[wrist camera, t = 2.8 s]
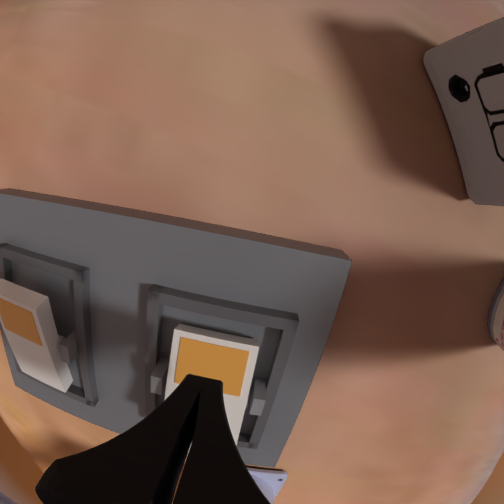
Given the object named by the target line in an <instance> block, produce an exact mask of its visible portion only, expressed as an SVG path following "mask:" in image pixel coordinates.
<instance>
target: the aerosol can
mask: <svg viewBox="0 0 504 504" xmlns="http://www.w3.org/2000/svg"><path fill="white" fill-rule="evenodd" d="M488 330H489V335H490V336H491V338H492V340H493V341H494V342H495V343H497V344H498V346H500V347H501V348H502V349H503V350H504V279H503V281H502V282H501V283H500V285H499V287H498V289H497V291H496V293H495V295H494V298H493V301H492V304H491V307H490V310H489V317H488Z"/></svg>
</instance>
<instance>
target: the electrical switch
mask: <svg viewBox="0 0 504 504" xmlns="http://www.w3.org/2000/svg"><path fill="white" fill-rule="evenodd" d="M423 62H424V66H425V68H426V71H427V73H428V75H429V77H430V80H431V82H432V84H433V87H434V89H435V91H436V94H437V96H438V99H439V101H440V104H441V107H442V109H443V112H444V115H445V117H446V120H447V123H448V126H449V129H450V132H451V135H452V138H453V141H454V145H455V148H456V151H457V155H458V158H459V162H460V166H461V169H462V173H463V177H464V182H465V186H466V190H467V194H468V196H469V198H470V199H471V200H472V201H473V202H474V203H475V204H478V205H494V206H504V17H503V18H500V19H497V20H495V21H492V22H490V23H487V24H485V25H483V26H480V27H478V28H475V29H473V30H471V31H469V32H466V33H464V34H462V35H460V36H457V37H455V38H453V39H451V40H449V41H446V42H444V43H442V44H440V45H438V46H436V47H434V48H432V49H430V50H428V51H426V52H425V54H424V57H423Z"/></svg>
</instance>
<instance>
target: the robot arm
mask: <svg viewBox="0 0 504 504" xmlns="http://www.w3.org/2000/svg"><path fill="white" fill-rule="evenodd" d="M190 446H191V447H190ZM189 448H190V450H189ZM188 451H189V454H188ZM187 454H188V457H187ZM186 457H187V460H186V464H185V467H184V470H183V473H182V476H181V479H180V483H179V486H178V489H177V492H176V495H175V498H174V501H173V497H174V493H175V488H176V485H177V481H178V478H179V475H180V473H181V470H182V467H183V465H184V462H185V459H186ZM286 479H287V472H284V471H274V470H264V469H255V468H247V467H246V466H245V464H244V462H243V460H242V458H241V456H240V453H239V451H238V449H237V446H236V444H235V441H234V439H233V436H232V433H231V430H230V426H229V423H228V419H227V415H226V411H225V406H224V399H223V382H222V381H221V380H216V379H211V378H207V377H202V376H198V375H193V374H188V375H186V376H185V378H184V379H183V380H182V382H181V383H180V384H179V385H178V387H177V388H176V389H175V390H174V391H173V392H172V393H171V394H170V395H169V396H168V397H167V398H166V399H165V400H164V401H163V402H162V403H161V404H160V405H159V406H158V407H157V408H156V409H155V410H153V411H152V412H151V413H150V414H149V415H148V416H146V417H145V418H144V419H143V420H141V421H140V422H139V423H137V424H136V425H134V426H133V427H131V428H130V429H128V430H127V431H125V432H123V433H122V434H120V435H118V436H117V437H115V438H113V439H111V440H109V441H107V442H105V443H103V444H101V445H98V446H96V447H94V448H91V449H89V450H87V451H84V452H81V453H78V454H75V455H71V456H68V457H64V458H61V459H57V460H55V461H54V462H53V463H52V464H51V466H50V467H49V468H48V469H47V470H46V471H45V473H44V474H43V476H42V478H41V479H40V481H39V483H38V484H37V486H36V489H35V490H36V493H37V495H38V497H39V498H40V500H41V501H42V502H43V503H44V504H172V501H173V504H274V499H275V497H276V495H277V494H278V492H279V491H280V489H281V487H282V485H283V484H284V482H285V480H286ZM0 504H17V503H16V502H14V501H13V500H11V499H10V498H8V497H7V496H6V495H4V494H3V493H1V492H0Z"/></svg>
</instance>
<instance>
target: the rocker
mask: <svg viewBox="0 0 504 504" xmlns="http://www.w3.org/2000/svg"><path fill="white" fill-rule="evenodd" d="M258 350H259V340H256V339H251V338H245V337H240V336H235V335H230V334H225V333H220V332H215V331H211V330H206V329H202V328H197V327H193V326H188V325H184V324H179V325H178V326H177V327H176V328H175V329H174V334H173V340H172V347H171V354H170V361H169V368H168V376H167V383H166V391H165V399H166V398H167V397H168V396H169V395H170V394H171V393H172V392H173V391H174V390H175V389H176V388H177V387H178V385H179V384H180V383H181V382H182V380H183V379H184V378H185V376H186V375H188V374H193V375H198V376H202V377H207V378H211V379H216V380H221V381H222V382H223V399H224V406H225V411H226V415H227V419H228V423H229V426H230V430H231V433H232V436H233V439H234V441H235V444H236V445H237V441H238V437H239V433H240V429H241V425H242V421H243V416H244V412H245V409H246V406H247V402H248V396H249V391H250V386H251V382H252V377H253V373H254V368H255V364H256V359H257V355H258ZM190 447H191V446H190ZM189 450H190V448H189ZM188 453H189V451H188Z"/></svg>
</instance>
